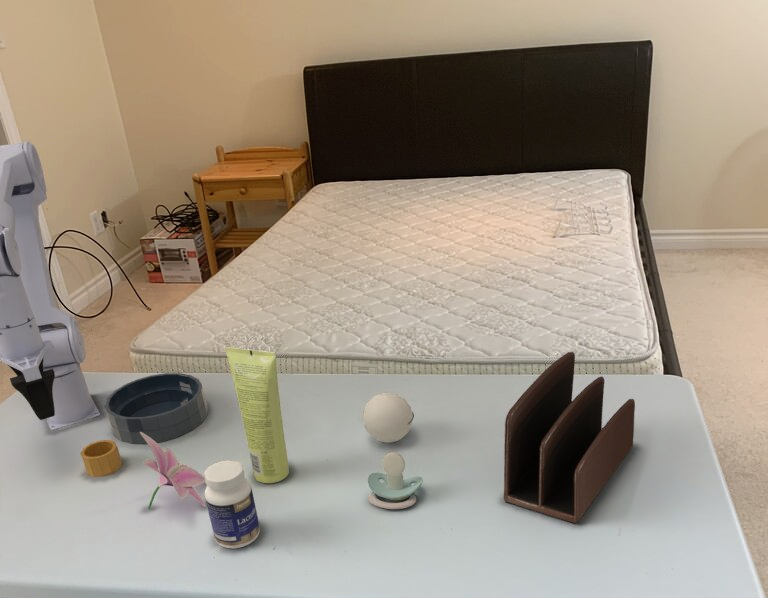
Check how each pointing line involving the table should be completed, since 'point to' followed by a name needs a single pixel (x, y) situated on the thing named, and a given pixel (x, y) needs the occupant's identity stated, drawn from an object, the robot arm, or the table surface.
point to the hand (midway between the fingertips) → (43, 406)
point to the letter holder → (562, 444)
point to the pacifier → (393, 484)
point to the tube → (260, 411)
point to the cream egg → (388, 417)
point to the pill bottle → (231, 505)
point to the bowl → (156, 408)
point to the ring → (101, 458)
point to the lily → (173, 472)
